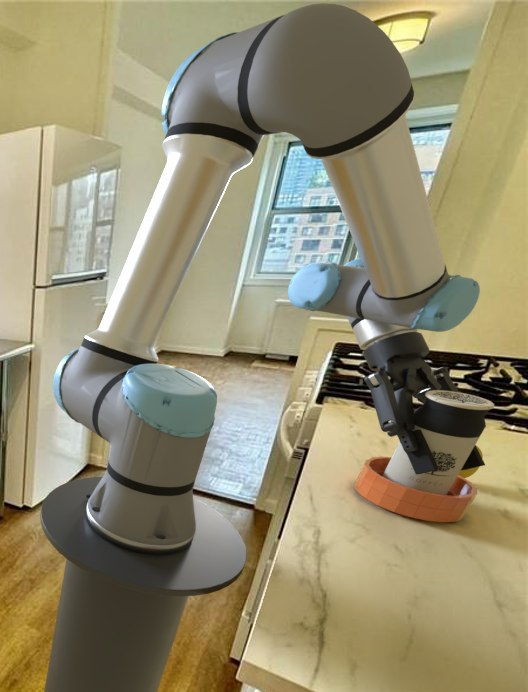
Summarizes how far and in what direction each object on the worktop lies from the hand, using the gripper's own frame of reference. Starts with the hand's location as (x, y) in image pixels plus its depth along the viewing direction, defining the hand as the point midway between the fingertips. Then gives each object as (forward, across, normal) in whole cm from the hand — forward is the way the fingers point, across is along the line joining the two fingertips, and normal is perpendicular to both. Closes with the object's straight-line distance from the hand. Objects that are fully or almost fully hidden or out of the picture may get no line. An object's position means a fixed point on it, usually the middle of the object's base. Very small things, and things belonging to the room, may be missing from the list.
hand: (450, 469), depth 75 cm
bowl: (+3, 0, +8) cm, 9 cm away
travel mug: (+3, 0, +8) cm, 8 cm away
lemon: (0, +15, +12) cm, 19 cm away
